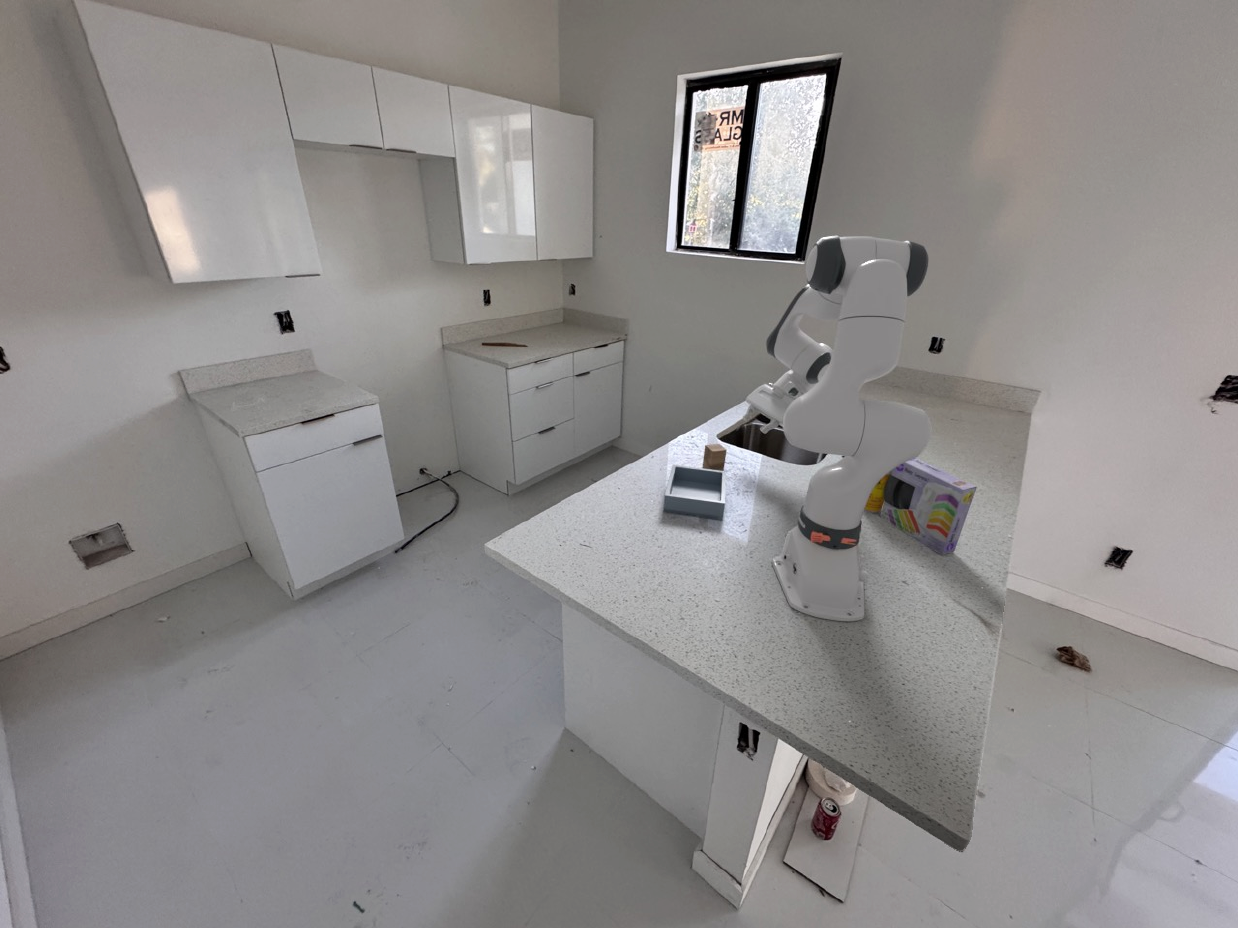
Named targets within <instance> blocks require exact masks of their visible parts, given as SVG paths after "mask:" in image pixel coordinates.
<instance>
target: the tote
mask: <svg viewBox="0 0 1238 928" xmlns="http://www.w3.org/2000/svg"><path fill="white" fill-rule="evenodd" d="M668 478H669V479H668V480H667V481H668V482H667V485H666V489H665V494H664V501H663V511H662V512H663V513H666V514H673V515H681V516H682V515H683V516H689V517H695V518H703V519H709V520H717V521H723V520H724V519H723V518H724V512H725V505H726V488H727V487H726V485H727V471H725V470H724V471H719V470H711V469H703V468H701V467H694V466H685V465H679V464H678V465H677V464H672V466H671V470H670V474H669V477H668Z"/></svg>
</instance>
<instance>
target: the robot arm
mask: <svg viewBox="0 0 1238 928" xmlns="http://www.w3.org/2000/svg"><path fill="white" fill-rule="evenodd" d="M928 267H929V254H928V252H927V249H926V247H925V245H922V244H920V243H918V242H917V243H916V242H914V241H911V240H905V241H900V240H894V239H888V238H881V237H880V238H879V237H874V236H871V235H870V236H867V235H866V236H865V235H863V236H860V235H859V236H858V235H857V236H856V235H854V236H853V235H852V236H839V235H832V236H825V237H821V238H820V239H818V241H817V242H816V243H814V245H813V246H812V249H811V250H810V252H809V255H808V257H807V260H806V264H805V275H806V282H807V285H805V286H803V287H802V288H801V289H800V290H799V291H798V292H797V293H796V295H795V296H794V298H792V300H791V302H790V303H789V305H788V307H787V308H786V309H785V311H784V313H783V314H782V316H781V318H780V320H779V321H778V323H777V324H776V325H775V327H774V329H773V330H772V331H771V332H770V333H769V335H768V337H767V339H766V341H765V343H766V346H765V347H766V351H767V354H769V355H770V356H771V357H772V358H774V359H776V360H778V361H780V362H781V363H782V364H783V365H784V366H785V367H787V368H788V369H789V370H788V371H786V372H785V373H784V374H783V375H782V376H780V377H779V378H778V379H777V381H775V382H774V383H772V382H767V383H763V384H762V385H760V386H758V387H757V388H756V389H754V390H753V391H752V392H751V393H750V394H749V395H748V396H747V397H746V399H745V402H746V403H747V405H748V408H747V409H746V413H744V414H743V416H742V419H743V420H744V421H745V422H750V420H752V419H753V418H752V415H753V414H755V413H756V412H759V413H760V414H761V415H763V416H765V417H766V418H768V419H770V422H769V423H767V424H766V425H765V424H763V425H761V427H760V428H759V430H760V431H761V432H762V433H763V434H767V433H769V431H771V430H773V429H776V428H777V427H779V426H780V427H782V429H783V434H784V436H785V438H786V439H787V441H788V442H789V444H790V445H791V446H793V447H796V448H799V449H802V450H806V451H809V452H812V453H819V454H825V455H836V456H844V457H842V458H841V459H840V460H838V461H837V462H834V463H831V464H829V465H826V466H823V467H821V468H819V469H818V470H817V471H815V472H814V474H812V476H811V477H810V480H809V483H808V485H807V491H806V494H805V495H806V496H805V499H804V503H803V505H802V506H801V507H800V508H801V509H800V510H799V513H798V517H797V518H798V519H797V524H796V526H794V527H792V528H791V529H790V530H789V531H787V533H786V537H785V540H784V544H783V547H782V550H781V554H780V555H777V556H774V557H773V558H772V560H771V565H772V567H773V570H774V573H775V574H776V576H777V579H778V581H779V583H780V585H781V588H782V591H783V593H784V596H785V599H786V600H787V602H788V603H787V604H788V605H789V606H790V607H791V609H794V610H796V611H798V612H800V613H803V614H805V615H807V616H811V617H816V618H819V619H825V620H831V621H839V622H856V621H861V620H863V619H864V617H865V592H864V590H865V588H864V583H866V582H867V580H868V571H866V570H863V569H861V567H860V562H864V561H865V560H864V559H865V555H864V554H861V551H860V550H861V548H860V547H861V544H862V542H861V541H860V537H861V534H862V526H863V524H862V523H863V522H862V518H863V515H864V509H865V506H866V503H867V501H868V499H869V496H870V494H871V492H872V490H873V489H874V487H875V486H876V484H877V483H878V482H879V481H880V480H881V479H882V478H883V477H884V476H885V475H886V474H887V473H889V472H890V471H891V470H893V469H894V468H896V467H897V466H899V465H901V464H903V463H905V462H907V461H909V460H912V459H915V458H918V457H919V456H921V455H922V454H923V453H924V451H925V450H927V447H929V444H930V442H931V439H932V436H933V435H932V433H933V427H932V422H931V420H930V417H929V416H928V414H927V413H926V411H925V410H924V409H922V408H918V407H916V406H912V405H909V404H905V403H902V402H898V401H891V400H889V401H888V400H881V399H880V400H879V399H867V398H861V397H859V393H860V390H861V388H862V386H863V385H864V384H865V383H869V382H871V381H874V380H878V379H879V378H882V377H884V376H886V375H888V374H890V373H891V372H892V371H893V370H894V369H895V368H896V366H897V365H898V363H899V362H900V355H901V349H902V341H903V335H904V330H905V323H906V317H907V307H908V306H907V304H908V297H911V296H912V295H914V293H915V292H917V291H919V289H920V287H921V286H922V284H923V282H924V280H925V277H926V276H927V272H928ZM804 316H807V317H811V318H814V319H817V320H818V321H819V320H820V321H821V322H822V321H823V322H838V323H837V327H836V335H835V339H834V345H833V348H832V347H830V345H828V344H825V343H822V342H821V343H819V342H817V341H816V340H815V339H813V338H812V337H811V336H809V335H808V334H806V333H805V332H803V330H802V329H801V328H800V327H799V324H800V322H801V320H802V319H803V317H804Z"/></svg>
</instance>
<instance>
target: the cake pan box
mask: <svg viewBox="0 0 1238 928" xmlns="http://www.w3.org/2000/svg"><path fill="white" fill-rule="evenodd" d="M977 487H978V486H977V485H975V484H972V483H969V482H967V481H965V480H963V479H960V478H959V477H957V476H954V475H952V474H951V473H950V472H948V471H946V470H944V469H941V468H940V467H937V466H935V465H933V464H929V463H927V462H925V461H923V460H922V459H919V458H918V457H916V458H915V459H912V460H909V461H907V462H905V463H903V464H901V465H899V466H897V467H896V468H894V469H893V471H892V474H891V476H890V477H889V479H888V480H887V482H886V485H885V489H884V500H885V501H884V504H883V507H882V509H881V511H880V512H881V513H880V516H879V517H880V518H881V519H883V520H885V521H886V522H888V523H889V524H891V525H893V526H894V527H896V528H897V529H898V530H901V531H903V532H904V533H905V534H907V535H909V536H910V537H912V538H913V539H916V540H917V541H918V542H920V543H922V544H923V545H924V546H927V547H929V548H930V549H931V550H933V551H935V553H938V554H940V555H946V554H950V553H951V554H952V553H954V552H955V551H956V547H957V546H958V542H959V539H960V537H961V534H962V530H963V527H964V525H965V522H966V518H967V516H968V514H969V510H970V508H971V505H972V502H973V499H974V496H975V494H976V491H977Z"/></svg>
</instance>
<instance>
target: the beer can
mask: <svg viewBox="0 0 1238 928" xmlns="http://www.w3.org/2000/svg"><path fill="white" fill-rule="evenodd" d="M892 471H893V470H891V471H890V472H889V473H887V474H886V475H885V476H884V477H883V478H882V479H881V480H880V481H879V482H878V483H877V484H876V486H875V487H874V489H873V490H872V492H871V494H870V496H869V499H868V501H867V503H866V506H865V509H864V511H865V512H867V513H872V514H876V513H878V512H879V511H880V512H881V511H882V508H883V504H884V501H885V500H884V489H885V485H886V482H887V480H888V479H889V477H890V476H891V474H892Z"/></svg>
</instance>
